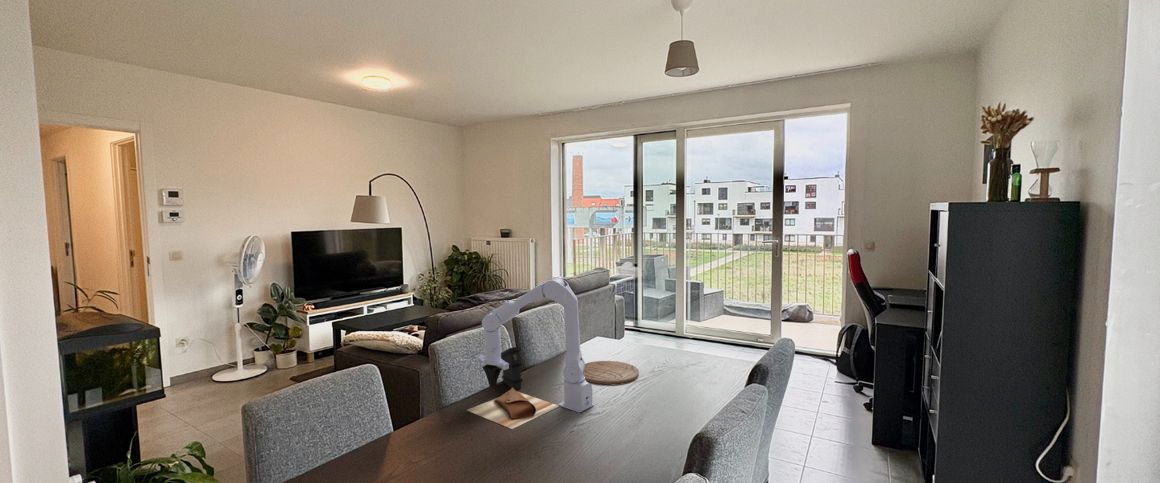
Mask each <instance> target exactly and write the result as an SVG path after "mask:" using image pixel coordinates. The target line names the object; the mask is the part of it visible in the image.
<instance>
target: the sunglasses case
mask: <svg viewBox="0 0 1160 483" xmlns="http://www.w3.org/2000/svg"><path fill="white" fill-rule="evenodd" d="M519 392H520V391H517V389H516V390H515V389H514V388H510V389H508V391H506V392H505V393H503V394H502V395H501V396H499V397H496V398H497V399H496V398H495V399H496V400H494V402H496V403H497V404H499V405H500V406H501V407H502V408H503V409H504V410H505V411H506V412H507V413H508V414H509V416H510V417H511V418H514V419H517V418H525V417H530V416H533V415H534V414H535V413H536V408H535V406H534V405H533V404H532V403H530V402H529V401H528V400H527V399H526V398H525V397H524V396H522V395H521V394H520V393H521V392H520V393H519Z"/></svg>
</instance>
